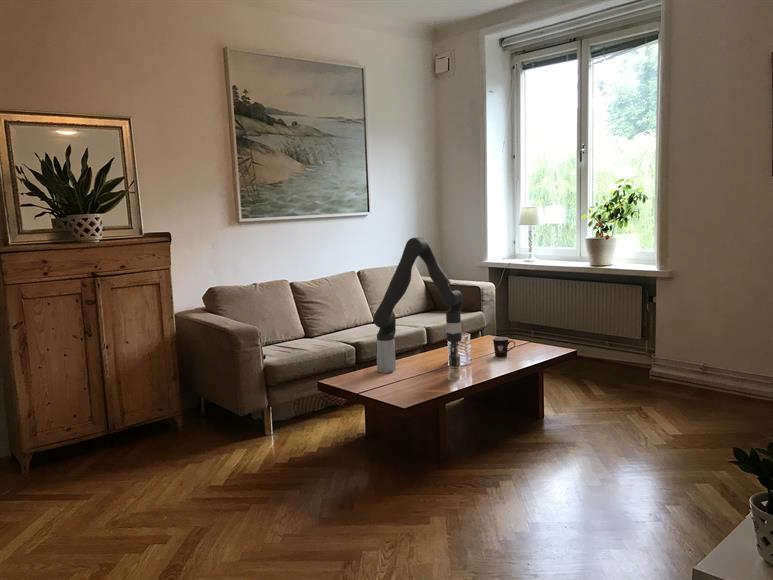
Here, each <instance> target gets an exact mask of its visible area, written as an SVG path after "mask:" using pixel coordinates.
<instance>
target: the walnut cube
mask: <svg viewBox="0 0 773 580" xmlns="http://www.w3.org/2000/svg"><path fill="white" fill-rule="evenodd" d="M452 356H455V355H452ZM456 357H457V358H456V367H460V368H461V366H460V365H461V354H460V353H458V354H457V355H456ZM448 364H449V365H448V366H449V368H450V367H452V359H451V354H450V353H449V356H448Z"/></svg>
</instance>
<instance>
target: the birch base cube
mask: <svg viewBox="0 0 773 580" xmlns="http://www.w3.org/2000/svg"><path fill="white" fill-rule="evenodd" d="M448 372H449V374H448V377H449V379H460V376H461V366H460V367H449V369H448Z"/></svg>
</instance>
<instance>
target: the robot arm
mask: <svg viewBox="0 0 773 580" xmlns="http://www.w3.org/2000/svg"><path fill="white" fill-rule="evenodd" d="M403 249H404V250H403V252H402V256H401V258H400V260H399V263H398V265H397V267H396V269H395V271H394V274H393V276H392V278H391V279H390V282H389V285H388V287H387V289H386V292H385V294H384V296H383V297H382V298H383V299H382V300H381V302H380V304H379V306H378V307H377V309H376V311H375V312H374V314H373V323H374V325H375V326H376V327H377V328H379V329H378V332H377V334H376V346H377V347H376V350H377V353H376V369H377V370H376V371H377V373H382V374H391V373H394V372H395V371H396V369H397V368H396V367H397V366H396V344H395V343H396V342H395V335H396V314H395V312H394V309H395V307H396V306H397V304H398V303H399V301H400V300H401V299H402V298H403V296H404V295H405V293H406V292H407V290H408V288H409V286H410V283H411V281H412V270H413V266H414V263H415V261H416V260H417V258H418V257H420V258H421V259H422V261H423V262H424V264H425V266H426V269H427V271H428V275H429V277H430V280H431V281H432V283H433V285H435V287H436V288H437V290H438V293H439V295H440V298H441V301H442V302H443V303H444V304H445V305H446V306H447V307H449V309H447V310H446V312H445V320H446V323H445V339H446V341H447V342H450V343H449V355H450V354H451V359H452V367H456V358H457V357H456V355H457V354H459V342H461V341H462V340H463V339H462V335H463V334H462V323H461V322H462V320H461V319H462V318H461V313H462V309H463V308H462V307H463V299H464V298H463V294H462V293H461V291H460V290H458V289H454V290H452V289H451V284H452V283H451V280H450V279H449V277H448V276H447V275H446V272H445V271H444V270H443V269H442V267H441V266H440V264H439V262H438V261H437V259H436V257H435V255H434V253H433V251H432V248H431V245H430V244H429V242H428V241H427V240H426V238H424V237H421V236H420V237H419V236H418V237H410V238H409V239H408V240H407V241H406V244H405V246H404V248H403ZM452 355H455V356H452Z"/></svg>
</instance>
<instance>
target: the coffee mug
mask: <svg viewBox="0 0 773 580" xmlns="http://www.w3.org/2000/svg"><path fill="white" fill-rule="evenodd" d="M509 338H510V337H509ZM509 338H508V337H506V336H496V337H493V338H492V340H493V341H492V342H493V348H494V356H495V357H496V358H507V356H508V353H509V351H512V350H513V349H514V348H515V346H516V342H515V341H514V340H510V341H509ZM510 343H513V344H514V346H512V347H511V348H509V349H508V347H509V344H510Z"/></svg>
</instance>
